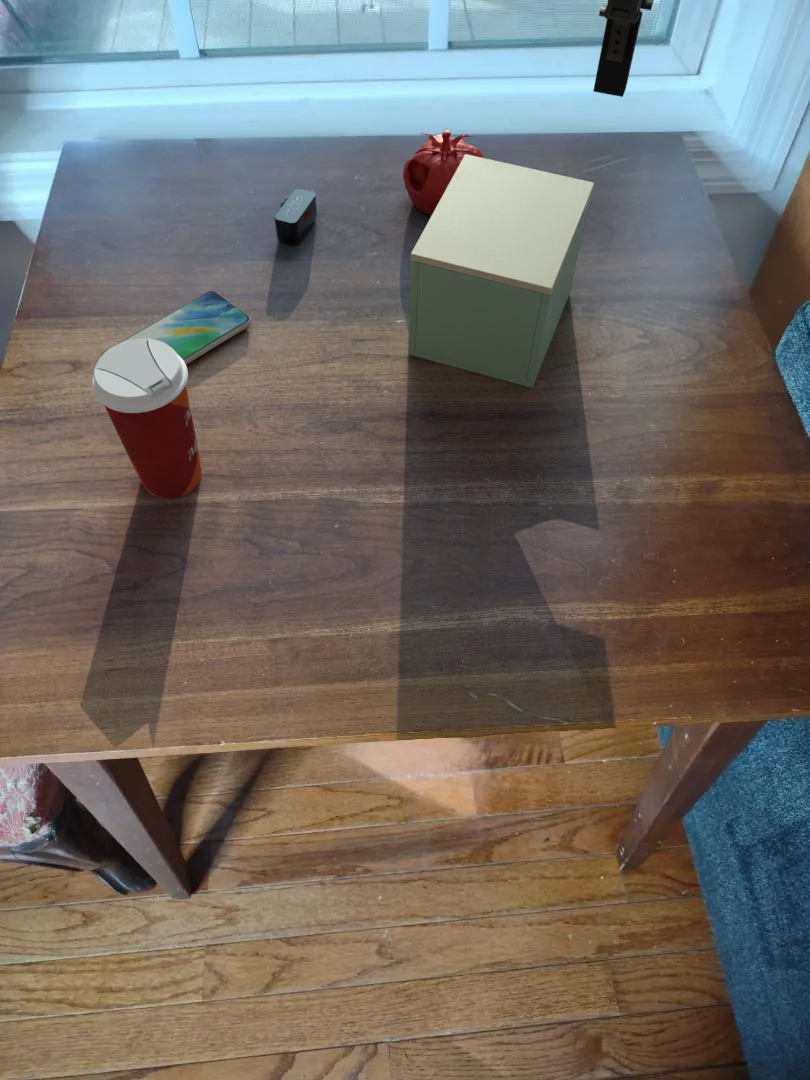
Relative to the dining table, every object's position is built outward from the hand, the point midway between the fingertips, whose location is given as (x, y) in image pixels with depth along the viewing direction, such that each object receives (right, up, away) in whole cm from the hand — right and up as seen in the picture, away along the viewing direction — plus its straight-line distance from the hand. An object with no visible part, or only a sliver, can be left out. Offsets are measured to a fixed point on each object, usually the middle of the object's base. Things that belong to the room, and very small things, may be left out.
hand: (609, 90), depth 78 cm
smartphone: (-43, -20, +13) cm, 49 cm away
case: (-9, -17, +15) cm, 25 cm away
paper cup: (-41, -35, +3) cm, 54 cm away
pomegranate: (-14, +1, +28) cm, 31 cm away
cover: (-9, -10, +6) cm, 15 cm away
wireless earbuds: (-32, -3, +25) cm, 40 cm away
